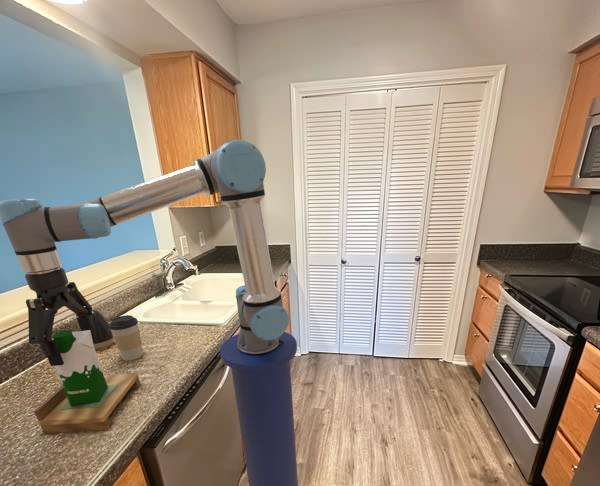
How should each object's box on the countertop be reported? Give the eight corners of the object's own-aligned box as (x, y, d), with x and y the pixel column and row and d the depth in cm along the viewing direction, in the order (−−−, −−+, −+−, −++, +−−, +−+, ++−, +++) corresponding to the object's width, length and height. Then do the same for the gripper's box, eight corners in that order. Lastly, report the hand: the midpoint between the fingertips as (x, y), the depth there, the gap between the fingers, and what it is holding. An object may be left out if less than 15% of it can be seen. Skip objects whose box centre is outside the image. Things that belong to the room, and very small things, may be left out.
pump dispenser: (92, 342, 129) (80, 307, 123) (120, 338, 131) (109, 303, 125) (82, 354, 120) (69, 317, 114) (112, 350, 122) (101, 313, 116)
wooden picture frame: (140, 384, 100) (135, 364, 98) (106, 429, 82) (98, 407, 79) (89, 386, 100) (82, 367, 97) (43, 433, 82) (33, 411, 79)
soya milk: (65, 409, 84) (36, 340, 76) (79, 389, 92) (54, 325, 84) (102, 403, 85) (77, 335, 77) (112, 384, 93) (91, 321, 85)
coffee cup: (121, 352, 120) (110, 315, 114) (147, 347, 123) (137, 311, 117) (116, 364, 112) (104, 324, 107) (144, 359, 115) (134, 320, 109)
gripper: (62, 259, 86) (88, 330, 94) (-20, 288, 63) (23, 379, 72) (91, 257, 86) (114, 329, 94) (18, 285, 63) (57, 377, 72)
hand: (75, 350), depth 83 cm, fingers open, 13 cm apart
